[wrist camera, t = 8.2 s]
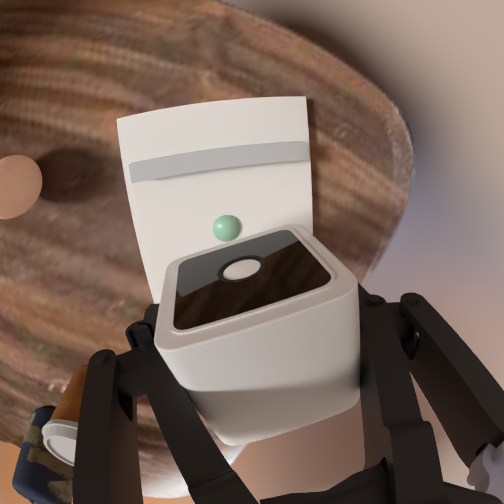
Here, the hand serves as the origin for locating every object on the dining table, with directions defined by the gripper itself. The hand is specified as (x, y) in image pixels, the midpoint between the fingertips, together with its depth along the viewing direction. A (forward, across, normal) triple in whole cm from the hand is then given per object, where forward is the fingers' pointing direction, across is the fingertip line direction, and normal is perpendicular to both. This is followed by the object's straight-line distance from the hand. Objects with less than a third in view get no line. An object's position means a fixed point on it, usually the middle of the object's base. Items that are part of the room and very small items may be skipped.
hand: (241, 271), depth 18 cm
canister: (+10, -33, -28) cm, 44 cm away
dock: (+9, 0, 0) cm, 9 cm away
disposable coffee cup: (+10, -20, -18) cm, 29 cm away
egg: (+10, -18, +8) cm, 22 cm away
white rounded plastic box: (0, 0, 0) cm, 0 cm away
